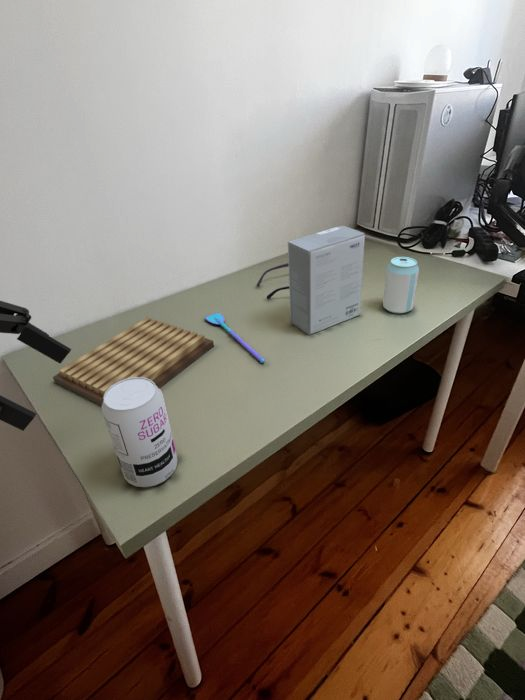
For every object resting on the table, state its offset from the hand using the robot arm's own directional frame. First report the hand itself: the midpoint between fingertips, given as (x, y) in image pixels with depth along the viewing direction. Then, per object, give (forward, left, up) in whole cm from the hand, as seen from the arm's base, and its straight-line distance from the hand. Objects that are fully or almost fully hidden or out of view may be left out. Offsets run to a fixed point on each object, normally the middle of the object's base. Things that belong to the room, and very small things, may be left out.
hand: (49, 386), depth 57 cm
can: (+73, -24, -17) cm, 79 cm away
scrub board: (+25, +15, -17) cm, 34 cm away
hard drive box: (+60, -11, -17) cm, 63 cm away
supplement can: (+6, -8, -17) cm, 20 cm away
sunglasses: (+71, +5, -17) cm, 73 cm away
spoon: (+43, +3, -17) cm, 46 cm away
